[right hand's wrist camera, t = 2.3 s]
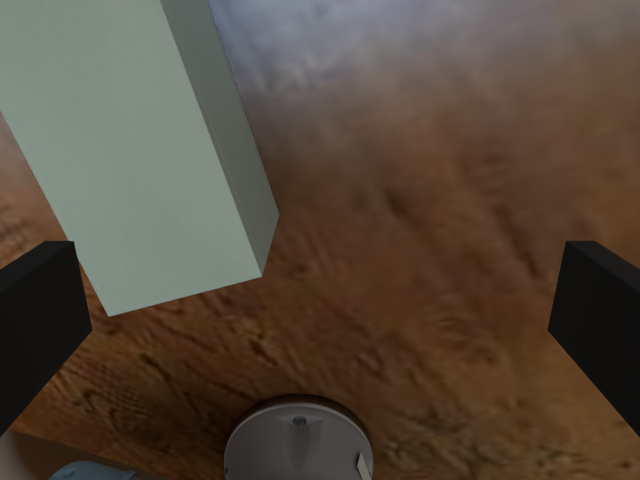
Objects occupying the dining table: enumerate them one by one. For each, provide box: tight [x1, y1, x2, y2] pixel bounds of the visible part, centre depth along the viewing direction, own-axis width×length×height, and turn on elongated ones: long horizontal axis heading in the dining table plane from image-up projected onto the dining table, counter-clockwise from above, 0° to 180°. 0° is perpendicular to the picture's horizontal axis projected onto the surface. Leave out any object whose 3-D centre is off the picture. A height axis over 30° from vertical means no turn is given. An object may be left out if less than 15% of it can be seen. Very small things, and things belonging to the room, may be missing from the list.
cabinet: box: [0, 0, 279, 317], centre depth 30 cm, size 18×10×12 cm, turn 16°
